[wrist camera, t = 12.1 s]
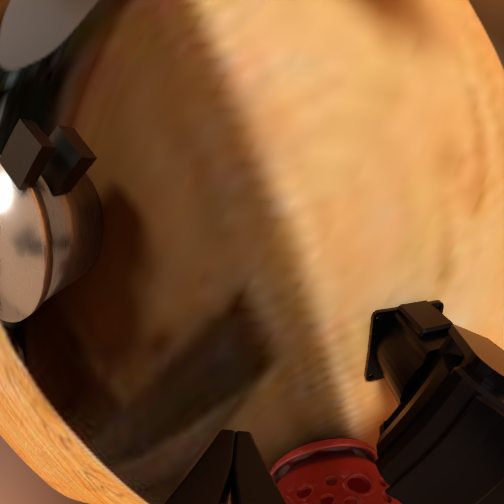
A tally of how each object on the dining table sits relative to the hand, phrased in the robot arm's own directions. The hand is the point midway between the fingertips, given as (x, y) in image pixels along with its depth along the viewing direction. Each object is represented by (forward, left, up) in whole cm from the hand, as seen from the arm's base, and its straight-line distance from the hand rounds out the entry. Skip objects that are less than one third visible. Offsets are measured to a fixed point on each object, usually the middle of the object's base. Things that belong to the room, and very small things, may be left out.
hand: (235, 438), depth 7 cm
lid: (+3, +18, -7) cm, 19 cm away
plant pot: (-22, -6, -13) cm, 26 cm away
